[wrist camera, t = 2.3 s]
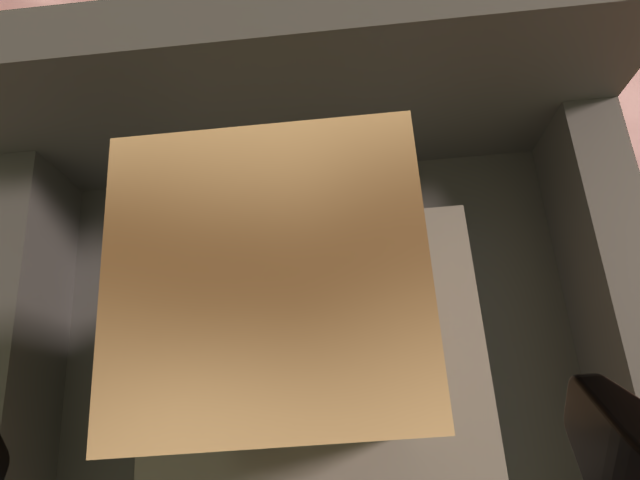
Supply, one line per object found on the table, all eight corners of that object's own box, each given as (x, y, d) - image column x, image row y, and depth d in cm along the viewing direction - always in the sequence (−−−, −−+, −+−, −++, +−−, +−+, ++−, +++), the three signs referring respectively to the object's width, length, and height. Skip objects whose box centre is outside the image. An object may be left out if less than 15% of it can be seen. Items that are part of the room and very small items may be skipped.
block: (406, 432, 15) (455, 435, 7) (224, 445, 15) (85, 460, 7) (387, 257, 16) (410, 110, 9) (223, 270, 17) (110, 138, 9)
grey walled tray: (662, 545, 16) (944, 654, 8) (12, 581, 16) (-282, 710, 9) (559, 122, 20) (676, -61, 13) (58, 167, 21) (-109, 22, 14)
